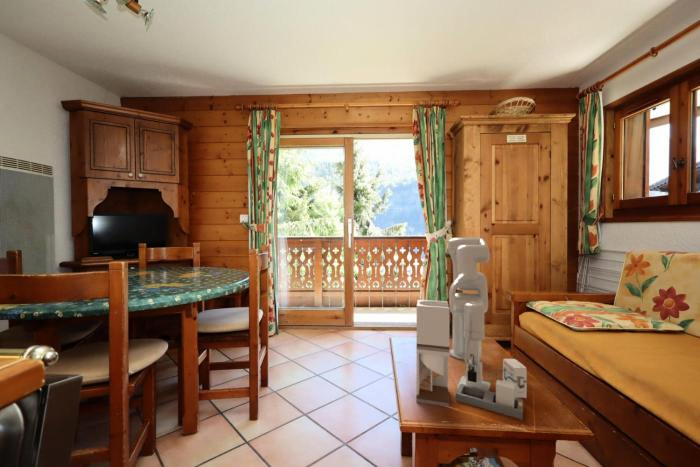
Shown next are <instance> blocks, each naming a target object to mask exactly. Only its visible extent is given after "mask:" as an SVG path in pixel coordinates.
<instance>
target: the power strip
mask: <svg viewBox="0 0 700 467" xmlns="http://www.w3.org/2000/svg"><path fill="white" fill-rule="evenodd" d="M464 393H465V394H464ZM472 395H473V396H472ZM481 398H482V399H481ZM455 401H457V402H460V403H464V404H467V405H470V406H475V407H477V408H481V409H484V410H487V411H491V412H495V413H497V414H501V415H504V416H508V417H511V418H515V419H517V420H518V419H519V420H520V421H521V420H522V421H523V419H524V418H523V414H524V400H523V398H515V408H512V407H509V406H505V405H501V404H498V403H496V391H490V390H489V391H487V390H483V389H479V388H476V387H472V386H468V385H464V384H460V385H459V387H457V390H456V391H455Z"/></svg>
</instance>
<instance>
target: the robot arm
mask: <svg viewBox="0 0 700 467" xmlns="http://www.w3.org/2000/svg"><path fill="white" fill-rule="evenodd" d="M447 248H448V253H449V256H450V259H451V262H452V274H453V275H452V276H453V277H452V278H453V280H452V283H451V284H450V286H449V291H448V300H449V301H448V302H449V304H448V305H449V312H450V313H451V315H452V348H451V349H449V356H451V357H452V358H455V359H457V360H462V361H463V360H464V363H465V365H466V364H467V363H468V362H469V363H468V381H471V382H475V383H476V382H477V372H476V366H477V365H478V364H479V362H481V358H482V341H484V340H485V313H487V312H488V309H489V297H488V296H489V295H488V280H487V277H486V276H487V275H485V273H483V272H480V271H478V270H479V269H478V263H479V264H480V263H481V264H486V263H489V261H490V259H491V253H490V248H489V246H488V244H487V242H486V240H485V239H484V238H482V237H453V238H451V239H449V240H448V243H447ZM457 290H458V291H469V292H470V291H473V292H476V293H471V292H470V293H468V292H457ZM473 362H474V363H473ZM473 366H474V367H473Z"/></svg>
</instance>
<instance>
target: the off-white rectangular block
mask: <svg viewBox="0 0 700 467" xmlns="http://www.w3.org/2000/svg"><path fill="white" fill-rule="evenodd" d="M495 393H496V401H495V403H498V404H501V405H505V406H509V407H512V408H516V407H515V384H514V383H509V382H505V381H503V380H502V379H501V380H499V379H497V380H496V383H495Z"/></svg>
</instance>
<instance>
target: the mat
mask: <svg viewBox="0 0 700 467" xmlns="http://www.w3.org/2000/svg"><path fill="white" fill-rule="evenodd" d="M460 384H464V385H466V375H462V376H461V378H460V380H459V382H458V384H457V386H456V388H458V387H459V385H460ZM490 387H491V382H489V381H485V380H482V387H481V389H483V390H487V391H490Z"/></svg>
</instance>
